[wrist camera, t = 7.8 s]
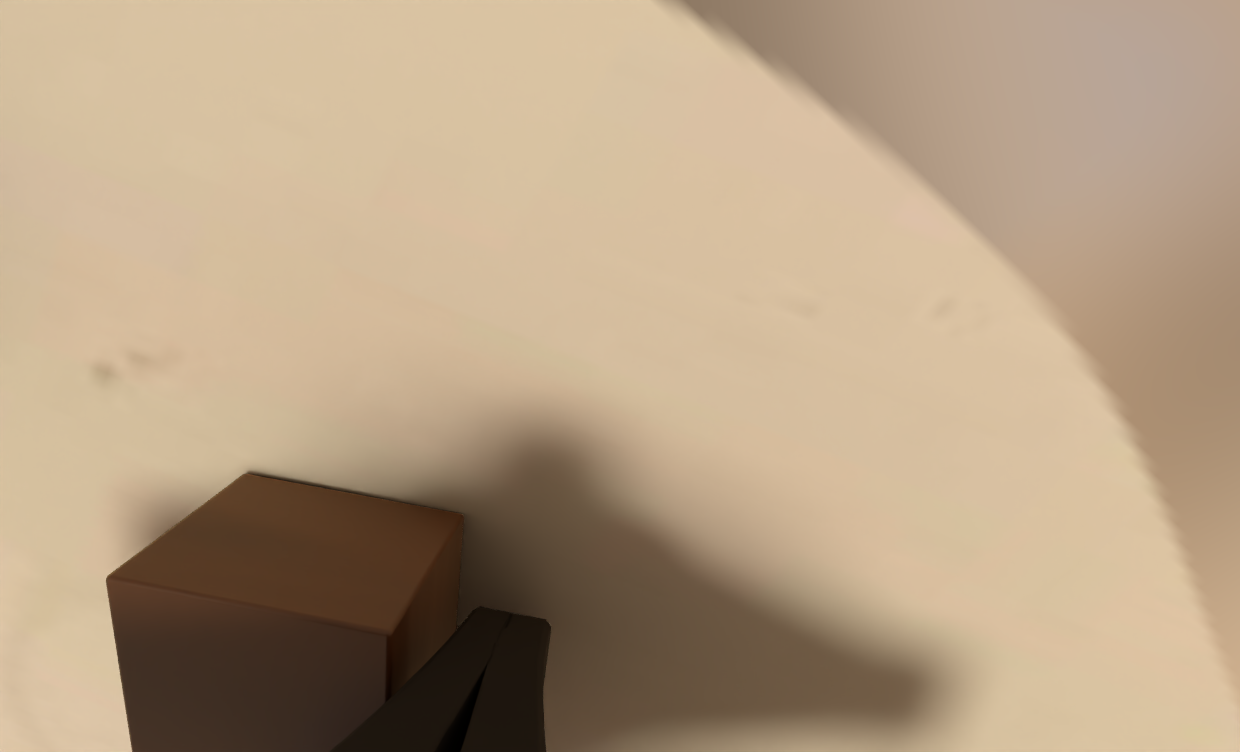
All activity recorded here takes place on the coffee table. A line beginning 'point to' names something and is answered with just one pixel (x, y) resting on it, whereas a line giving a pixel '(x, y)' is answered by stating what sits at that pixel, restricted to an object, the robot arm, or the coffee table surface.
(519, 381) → the coffee table surface
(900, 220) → the coffee table surface
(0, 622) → the coffee table surface
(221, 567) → the walnut block
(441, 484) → the coffee table surface
